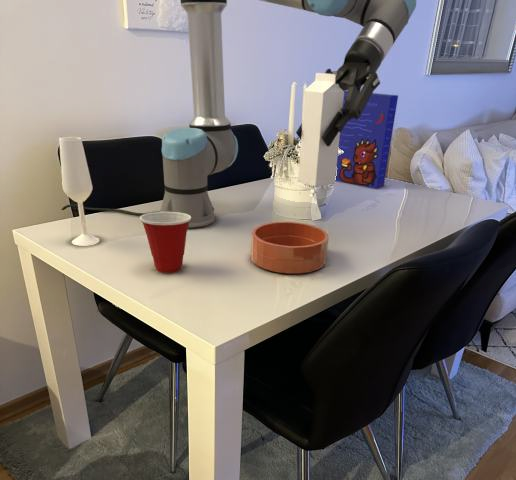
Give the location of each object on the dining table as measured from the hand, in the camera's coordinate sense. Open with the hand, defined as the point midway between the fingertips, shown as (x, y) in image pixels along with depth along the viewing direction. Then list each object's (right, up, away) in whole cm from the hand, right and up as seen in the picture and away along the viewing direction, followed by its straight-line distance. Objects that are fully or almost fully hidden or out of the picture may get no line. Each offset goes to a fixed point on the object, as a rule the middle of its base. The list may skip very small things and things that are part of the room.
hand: (312, 139), depth 108 cm
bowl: (-5, -24, +11) cm, 27 cm away
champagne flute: (-55, -19, +17) cm, 60 cm away
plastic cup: (-32, -27, +5) cm, 42 cm away
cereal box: (+24, +16, +79) cm, 84 cm away
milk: (+2, -7, +7) cm, 10 cm away
